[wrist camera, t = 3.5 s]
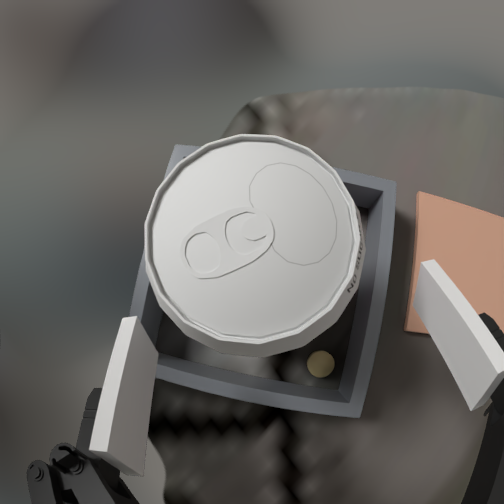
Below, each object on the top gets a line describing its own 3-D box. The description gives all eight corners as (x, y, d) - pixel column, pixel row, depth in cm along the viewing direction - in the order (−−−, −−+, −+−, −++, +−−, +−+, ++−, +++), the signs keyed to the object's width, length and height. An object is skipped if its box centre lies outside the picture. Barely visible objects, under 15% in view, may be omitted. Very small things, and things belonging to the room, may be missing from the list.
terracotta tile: (403, 330, 23) (406, 330, 22) (416, 193, 25) (419, 191, 24) (503, 341, 22) (506, 342, 21) (509, 222, 24) (512, 221, 23)
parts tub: (141, 358, 24) (120, 365, 20) (188, 166, 27) (175, 144, 23) (347, 403, 22) (359, 418, 18) (380, 200, 25) (396, 181, 21)
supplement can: (287, 212, 25) (300, 91, 11) (333, 305, 24) (418, 290, 9) (196, 255, 25) (103, 181, 11) (239, 350, 24) (186, 402, 9)
